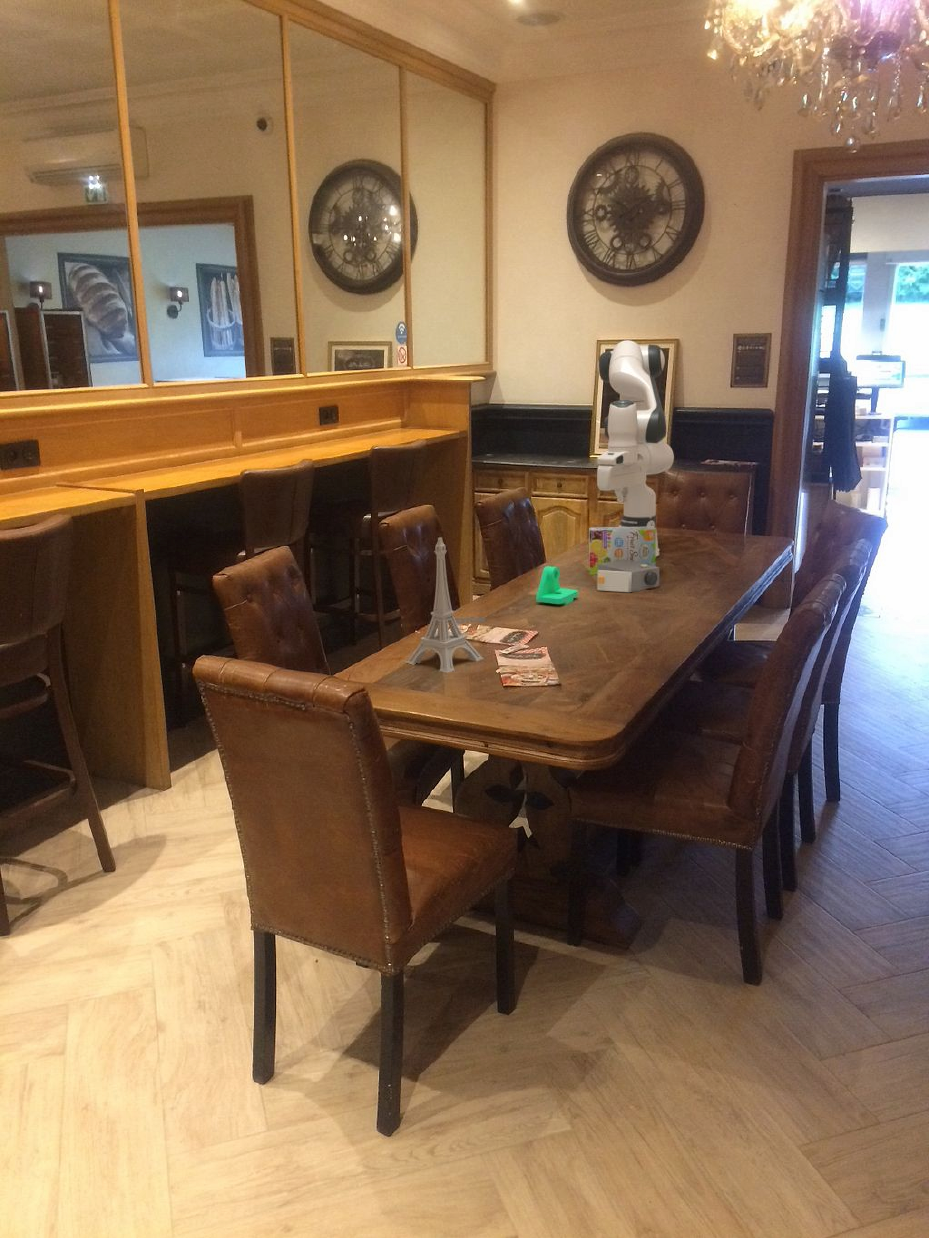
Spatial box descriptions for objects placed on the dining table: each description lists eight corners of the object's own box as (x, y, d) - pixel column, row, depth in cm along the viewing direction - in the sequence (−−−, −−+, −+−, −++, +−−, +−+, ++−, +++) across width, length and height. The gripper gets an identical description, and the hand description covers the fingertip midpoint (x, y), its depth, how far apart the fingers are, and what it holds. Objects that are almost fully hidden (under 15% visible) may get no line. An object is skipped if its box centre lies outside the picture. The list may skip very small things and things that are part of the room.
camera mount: (559, 608, 282) (559, 572, 280) (536, 605, 287) (536, 570, 284) (579, 599, 292) (579, 564, 289) (556, 596, 296) (556, 562, 294)
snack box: (653, 571, 325) (654, 525, 321) (655, 575, 319) (656, 528, 315) (588, 571, 327) (588, 526, 323) (589, 575, 321) (589, 529, 317)
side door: (596, 590, 299) (596, 571, 298) (598, 589, 301) (598, 570, 300) (630, 592, 296) (630, 573, 294) (631, 591, 297) (632, 571, 296)
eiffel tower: (441, 650, 246) (437, 531, 238) (483, 659, 238) (480, 536, 230) (405, 663, 236) (399, 540, 228) (447, 673, 228) (443, 545, 220)
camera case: (597, 582, 311) (597, 561, 309) (623, 577, 316) (624, 556, 315) (635, 592, 297) (635, 570, 295) (662, 587, 302) (662, 565, 300)
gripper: (634, 452, 304) (634, 497, 307) (593, 458, 290) (593, 505, 293) (651, 453, 299) (651, 499, 303) (610, 459, 286) (610, 507, 289)
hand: (622, 502), depth 298 cm, fingers closed
